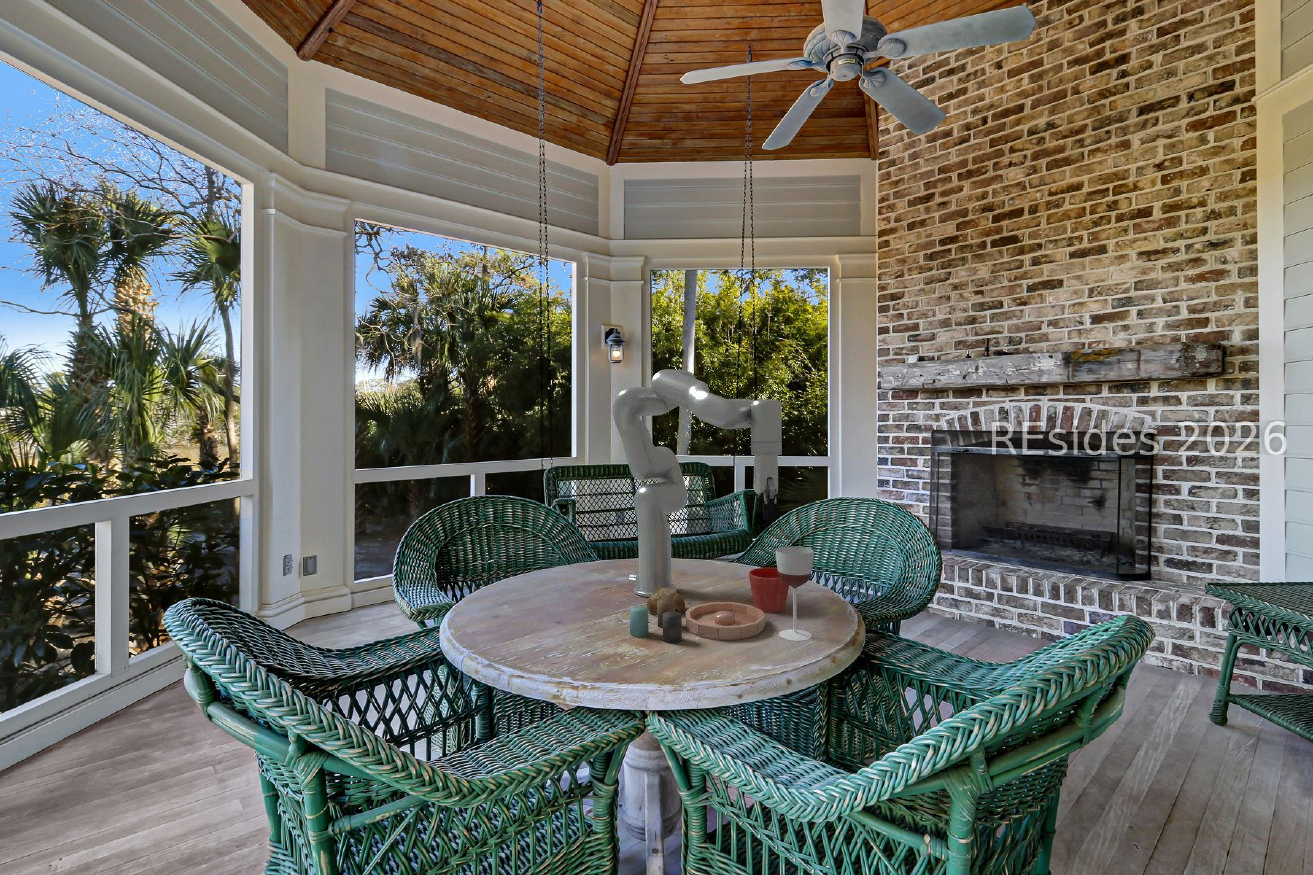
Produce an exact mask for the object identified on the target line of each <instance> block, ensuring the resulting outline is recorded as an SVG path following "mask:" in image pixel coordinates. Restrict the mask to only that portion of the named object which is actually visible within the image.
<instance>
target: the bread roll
mask: <svg viewBox="0 0 1313 875" xmlns="http://www.w3.org/2000/svg"><path fill="white" fill-rule="evenodd" d="M662 599H671V600H674V601H675V612H679V613H681V614H683V613H684V612H685V611H686V601H685V598H684V597H683V596H682V595H681V594H680V593H679V591H678V590H677V591H676V590H673V589H671V588H660V589H659V590H657V591H655V592H654V593H653V594H652V595H651V596H650V597H647V601H646V607H647V608H648V613H650V614H651V615H654V616H657V617H658V614H657V601H658V600H662Z"/></svg>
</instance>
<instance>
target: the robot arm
mask: <svg viewBox="0 0 1313 875" xmlns="http://www.w3.org/2000/svg"><path fill="white" fill-rule="evenodd" d="M650 386H651V387H650ZM650 386H645V387H644V386H632V387H627V388H625V389H623V390H621V391H620V392H619V393H618V394H617V395H616V397H615V399H614V402H613V406H612V416H613V421H614V424H615V427H616V428H617V431H618V433H619V436H620V440H621V443H622V446H623V449H624V454H625V457H626V461H627V466H629V467H628V468H629V471H630V473H631V476H632V477H633V479H635V480H636V481H637V480H638V481H650V480H656V482H653V483H648V484H644V485H643V486H641V487H639V488H638V489H637V491H636V492H635V494H634V497H633V506H634V512H635V516H636V521H637V539H638V540H637V541H638V546H637V548H638V574H635V573H630V574H629V578H628V582H629V583H635V586H634V588H633V591H634V594H636V595H637V596H640V597H644V598H649V597H650V596H651V595H652V594H653V593H654V592H655V591H657V590H659V589H660V588H671V589H673V590H676V591H677V592H678V586H677V585H675V584H673V583H672V582H673V581H672V580H673V579H672V535H671V534H672V532H671V527H670V523H669V522H668V518H667V517H666V515H669V514H674V513H677V512H680V511H681V510H683V509H684V508H685V507H686V505H687V502H688V490H687V486H686V483H685V480H684V476H683V472H682V468H681V467H680V464H679V460H678V458H677V455H675V453H674V452H673V450H672V449H671V448H669V447H666V446H655V445H654V444H653V441H652V437H651V433H650V431H649V429H648V427H647V425H646V424H645V423H644V422H643V421H642V420H641V417H649V416H651V417H653V416H662V415H664V414H667V413H668V412H670V411H671V410H673V409H675V408H677V407H681V408H683V409H686V410H688V411H690V412H691V413H692V415H694V416H695V417H696V418H697V419H699V420H700V421H703V422H705V423H707V424H710V425H712V426H715V427H717V428H719V429H723V430H732V429H733V430H734V429H748V428H750V439H751V440H750V441H751V442H750V447H751V450H750V451H751V455H753V456H754V459H753V460H754V461H753V463H754V464H753V485H752V486H753V491H754V492H755V493H756V495H757V502H756V503H757V513H758V514H763V515H762V516H763V518H762V519H763V520H764V521H777V520H778V513H777V512H778V505H777V494H778V492H779V463H778V462H779V461H778V456H781V455H782V454H783V453H782V450H783V448H782V446H783V445H782V443H783V442H782V441H783V440H782V403H781V401H779V400H778V399H768V398H767V399H756V400H755V399H749V398H729V399H728V398H724V397H721V396H719V395H716V394H714V393H711V392H710V389H709V386H708V384H707V383H706V382H705V381H702V380H699V379H697V378H696V376H695V375H694V374H693V373H692V372H690V371H688V370H686V369H685V370H684V369H671V368H670V369H668V368H667V369H661V370H659V371H657V372H656V373H655V374H654V375H653V376H652V378H651V382H650Z"/></svg>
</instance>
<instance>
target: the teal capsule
mask: <svg viewBox="0 0 1313 875" xmlns="http://www.w3.org/2000/svg"><path fill="white" fill-rule="evenodd" d="M649 633H650V632H649V611H648V608H647V606H643V605H640V606H639V605H637V606H632V607H629V635H630V637H634V638H645V637H647V636H649Z"/></svg>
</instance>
